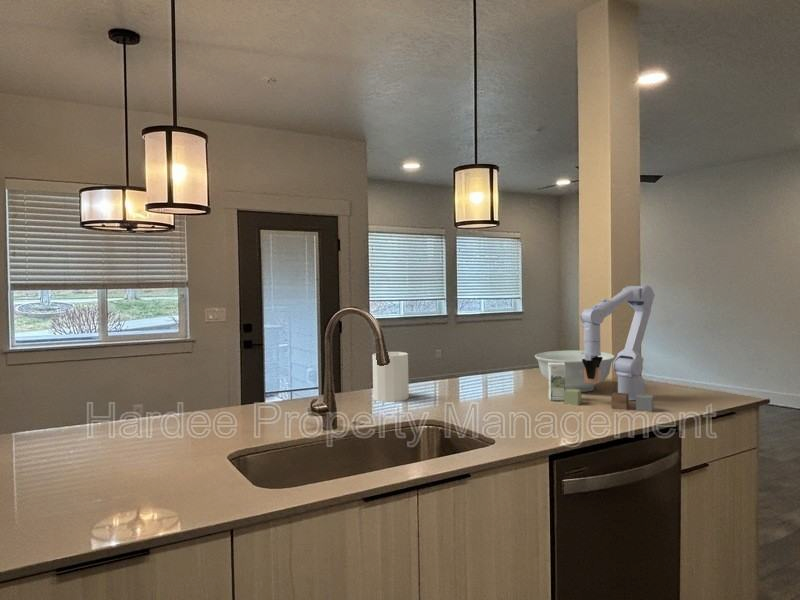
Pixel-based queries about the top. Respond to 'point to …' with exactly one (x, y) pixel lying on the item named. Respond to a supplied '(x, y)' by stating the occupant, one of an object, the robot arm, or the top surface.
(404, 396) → the container
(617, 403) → the walnut block
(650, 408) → the slate block
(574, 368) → the bowl
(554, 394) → the syrup box
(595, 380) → the terracotta block
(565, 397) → the olive block
